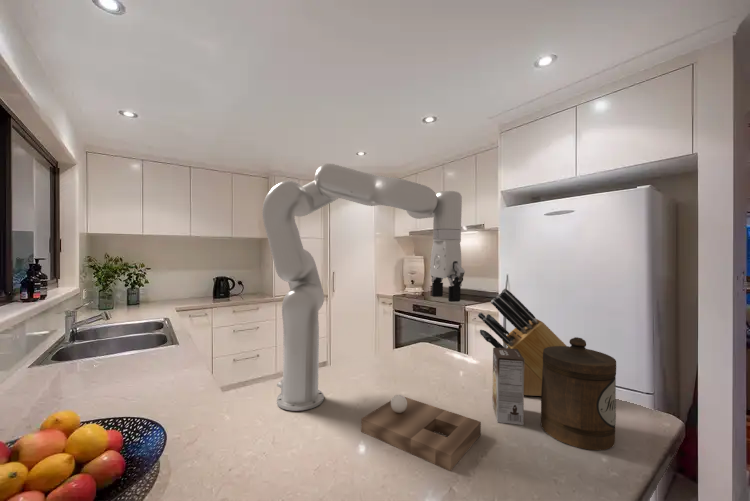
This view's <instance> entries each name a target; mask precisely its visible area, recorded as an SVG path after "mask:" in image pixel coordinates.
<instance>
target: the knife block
mask: <svg viewBox="0 0 750 501" xmlns="http://www.w3.org/2000/svg"><path fill="white" fill-rule="evenodd" d="M490 303H491V304H492V305H493V306H494V308H495V309H496V310H497V311H498V312H499V313H500V314H501V315H502V316H503V317H504V318H505V319H506V320H507V321H508V323H510V324H511V325H513V327H514V329H512V330H511V331H510V332H509V331H508V330H507V329H506V328H505V327H504V326H503V325H502V324H501V323H500V322H498V321H497V319H495V318H494V316H492V315H491V314H489V313H488V314H486V315H485V314H483V312H478V314H477V317H478V318H479V319H480V320H482V321H483V323H484V324H486V326H487V327H488V328H489V329H491V330H492V332H493V333H494V334H496V335H497V336H498V338H499V339H501V341H502V342H503V343H504V345H506V346H507V347H506V348H509V349H518V351H519V352H520V354H521V355H522V357H523V358H524V396H537V397H538V396H539V397H541V390H542V371H543V350H544V349H545V348H547V347H551V346H567V344H565V342H564V341H562V339H561V338H559V337H558V335H557V334H555V333H554V331H552V330H551V329H550V327H549V326H548V325H547V324H545V323H544V322H543V321H542V320H540V319H538V318H536V317H535V315H534V314H533V313H532V312H531V311H530V310H529V309H528V308H527V307H526V306H525V304H523V303H522V301H521V300H520V299H518V298H517V297H516V296H515V295H514V294H513V293H512V292H511V291H510V290H508V288H503V289H502V291H501V292H500V293H499V294H497V295H496V297H495V298H492V299H491V301H490ZM479 333H480V335H481V337H482V338H483V339H484V340H485V341H486V342H488V343H490V344H491V346H493V348H505V347H504V346H503V345H502V344H501V343H500V342H499V341H498V340H497V339H496V338H495V337H494V336H492V334H490V333H489V332H488V331H486V330H483V329H479Z"/></svg>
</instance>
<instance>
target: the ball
mask: <svg viewBox="0 0 750 501" xmlns="http://www.w3.org/2000/svg"><path fill="white" fill-rule="evenodd" d="M405 397H406V396H404V395H402V394H396V395H394V396H392V398H391V399H390V401H391V408H392V409H393V411H395V412H396V413H402V412H404V411H405V410H406V408H407V400H406V398H405Z"/></svg>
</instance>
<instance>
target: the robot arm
mask: <svg viewBox="0 0 750 501" xmlns="http://www.w3.org/2000/svg"><path fill="white" fill-rule="evenodd" d="M338 199H341V200H346V201H349V202H353V203H357V204H360V205H364V206H370V207H375V206H377V207H378V206H386V207H390V208H395V209H396V208H397V209H399V210H400V209H401V210H403V211H406V213H407V214H408V215H409V216H410V217H412V218H414V219H416V220H417V219H418V220H419V219H420V220H421V219H428V218H429V219H430V218H433V222H432V223H433V224H432V226H433V227H432V228H433V229H432V231H433V232H432V247H431V253H430V263H429V264H430V266H429V267H430V268H429V275H430V276H431V297H434V298H436V297H438V298H439V297H443V296H444V295H443V294H444V282H442V281H443V279H446V278H447V281H448V283H449V285H448V293H447V296H448V298H447V299H448V302H456V303H458V302H460V301H461V287H462V284H463V281H464V276H465V272H466V271H465V269H464V268H463V267H462V247H461V242H462V212H463V210H462V207H463V205H462V203H463V202H462V201H463V200H462V199H463V197H462V194H461V193H460V192H459V191H454V190H443V191H439V192H435V190H433V188H431V187H429V186H427V185H424V184H421V183H419V182H413V181H411V180H407V179H401V178H397V177H392V176H391V177H389V176H382V175H377V174H376V175H375V174H372V173H367V172H363V171H360V170H356V169H353V168H349V167H345V166H341V165H339V164H335V163H324V164H323V163H322V164H321V165H320V166H319V167H318V168H316V171H315V174H314V180H313V181H310V182H308V183H306V184H304V185H302V184H300V183H298V182H296V181H293V180H283V181H280V182H279V183H277V184H276V185H274V186H273V187H272V188H271V189H270V190H269V191H268V192H267V194H266V196H265V198H264V200H263V203H262V210H261V211H262V213H261V214H262V221H263V225H264V229H265V233H266V236H267V237H266V238H267V240H268V244H269V249H270V254H271V256H272V261H273V264H274V268H275V271H276V274H277V276H278V277H279V278H280V280H282V281H284V282H288V286H289V290H288V291H287V293H286V294H285V295H284V297H283V300H282V303H281V316H282V328H283V329H282V330H283V350H282V352H283V354H282V355H283V356H282V358H283V359H282V360H283V362H282V377H281V379H280V381H278V382H277V383H276V387H278V388H280V393H279V394H278V395H277V396H276V405H277V407H279V408H280V409H282V410H287V411H293V412H294V411H295V412H298V411H307V410H311V409H314V408H316V407H318V406H320V405H321V404H322V403H323V401H324V398H325V397H324V392H322V390H320V389H319V360H320V359H319V357H320V356H319V355H320V353H319V352H320V351H319V350H320V349H319V348H320V329H319V328H320V326H319V324H320V323H319V311H320V309H321V308H322V307H323V305H324V302H325V294H324V289H323V287H322V282H321V278H320V275H319V272H318V267H317V265H316V262H315V259H314V256H313V255H312V254H311V253H310V251H308V250H307V249H305V248H304V246H303V242H302V239H301V236H300V235H301V234H300V231H299V229H298V225H297V223H296V219H295V217H305V216H307V215H310V214H312V213H314V212H315V211H318V210H320V209H322V208H323V207H326V206H327V205H328V206H329V205H330V204H331V203H333V202H335V201H338Z"/></svg>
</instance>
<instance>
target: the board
mask: <svg viewBox="0 0 750 501" xmlns="http://www.w3.org/2000/svg"><path fill="white" fill-rule="evenodd" d="M404 397H405V398H406V400H407V408H406V410H405V411H404V412H402V413H396V412H395V411H393V409H392V408H391V400H389V401H387V402H386V403H385V404H382V405H381V406H379V407H378V408H376V409H374V410H372V412H370V413H368V414H367V415H365V416H363V417H361V420H360V421H361V423H360V424H361V425H360V426H361V427H360V430H361V433H364V434H366V435H368V436H370V437H371V438H372V437H373V438H375V439H377V440H380V441H382V442H384V443H386V444H388V445H391V446H392V447H395V448H396V449H397V448H398V449H399V450H402V451H404V452H406V453H409V454H410V455H413V456H415V457H418V458H419V459H422V460H424V461H427V462H428V463H431V464H434V465H436V466H437V467H440V468H443V469H444V470H447V471H449V472H452V471H453V469H454V468H455V466H456V465H457V464H458V463H460V461H461V460H462V459H463V457H464V456H465V454H466V453H468V451H469V450H470V449H471V447H472V446H473V445H474V443H475V442H476V441H477V440H478V439H479V438H480V437H481V435H482V432H481V431H482V428H481V427H482V426H481V425H482V423H481V421H480V420H476V419H473V418H470V417H467V416H464V415H461V414H457V413H455V412H452V411H449V410H447V409H443V408H440V407H438V406H434V405H431V404H428V403H425V402H421V401H420V400H415V399H412V398H410V397H406V396H404Z"/></svg>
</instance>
